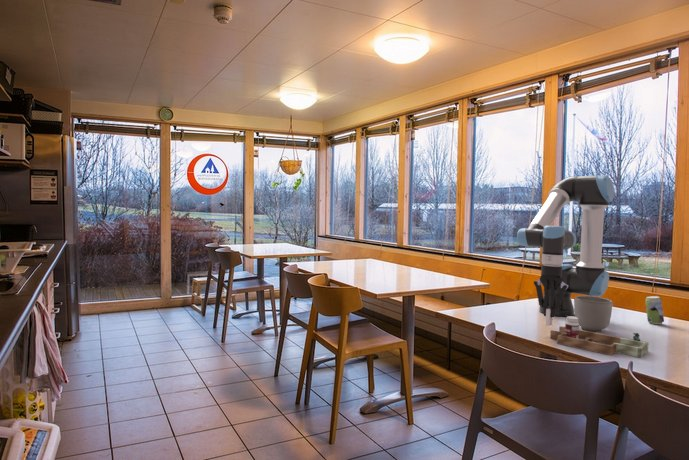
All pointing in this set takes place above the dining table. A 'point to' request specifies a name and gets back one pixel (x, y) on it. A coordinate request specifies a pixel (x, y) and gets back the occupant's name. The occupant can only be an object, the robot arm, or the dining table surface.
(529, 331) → the dining table surface
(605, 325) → the planter
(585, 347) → the open divided box
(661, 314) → the beverage can
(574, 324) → the pill bottle
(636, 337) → the sculpture
